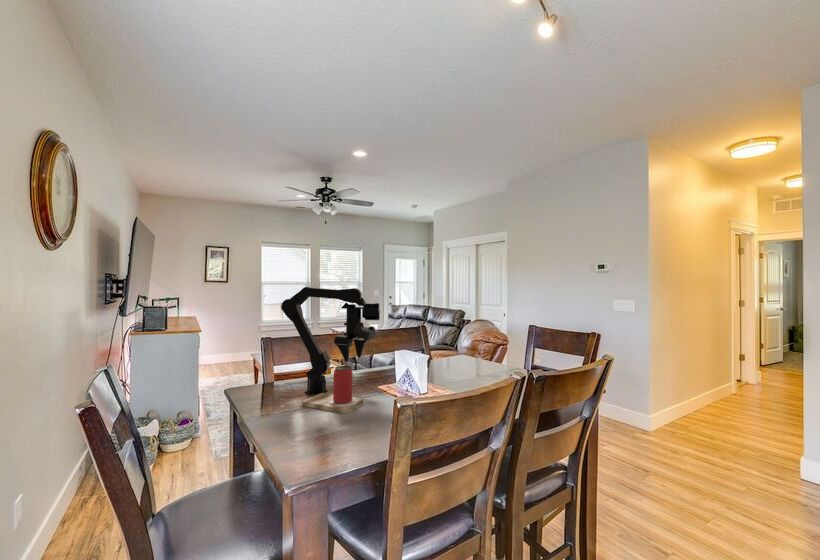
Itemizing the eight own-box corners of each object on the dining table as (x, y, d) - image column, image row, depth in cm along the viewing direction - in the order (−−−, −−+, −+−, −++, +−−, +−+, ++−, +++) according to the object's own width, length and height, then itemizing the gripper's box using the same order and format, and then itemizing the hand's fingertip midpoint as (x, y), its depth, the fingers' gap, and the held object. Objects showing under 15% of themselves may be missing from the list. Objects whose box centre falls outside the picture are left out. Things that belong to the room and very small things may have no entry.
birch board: (301, 405, 138) (301, 400, 138) (322, 396, 149) (322, 392, 149) (346, 413, 130) (346, 408, 130) (364, 403, 141) (364, 398, 141)
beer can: (353, 398, 141) (353, 365, 141) (350, 404, 134) (351, 369, 134) (334, 398, 140) (335, 365, 140) (331, 404, 134) (332, 369, 134)
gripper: (358, 323, 143) (358, 366, 143) (382, 319, 160) (382, 357, 160) (333, 321, 148) (332, 363, 148) (359, 317, 165) (358, 354, 165)
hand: (353, 359), depth 155 cm, fingers open, 9 cm apart
